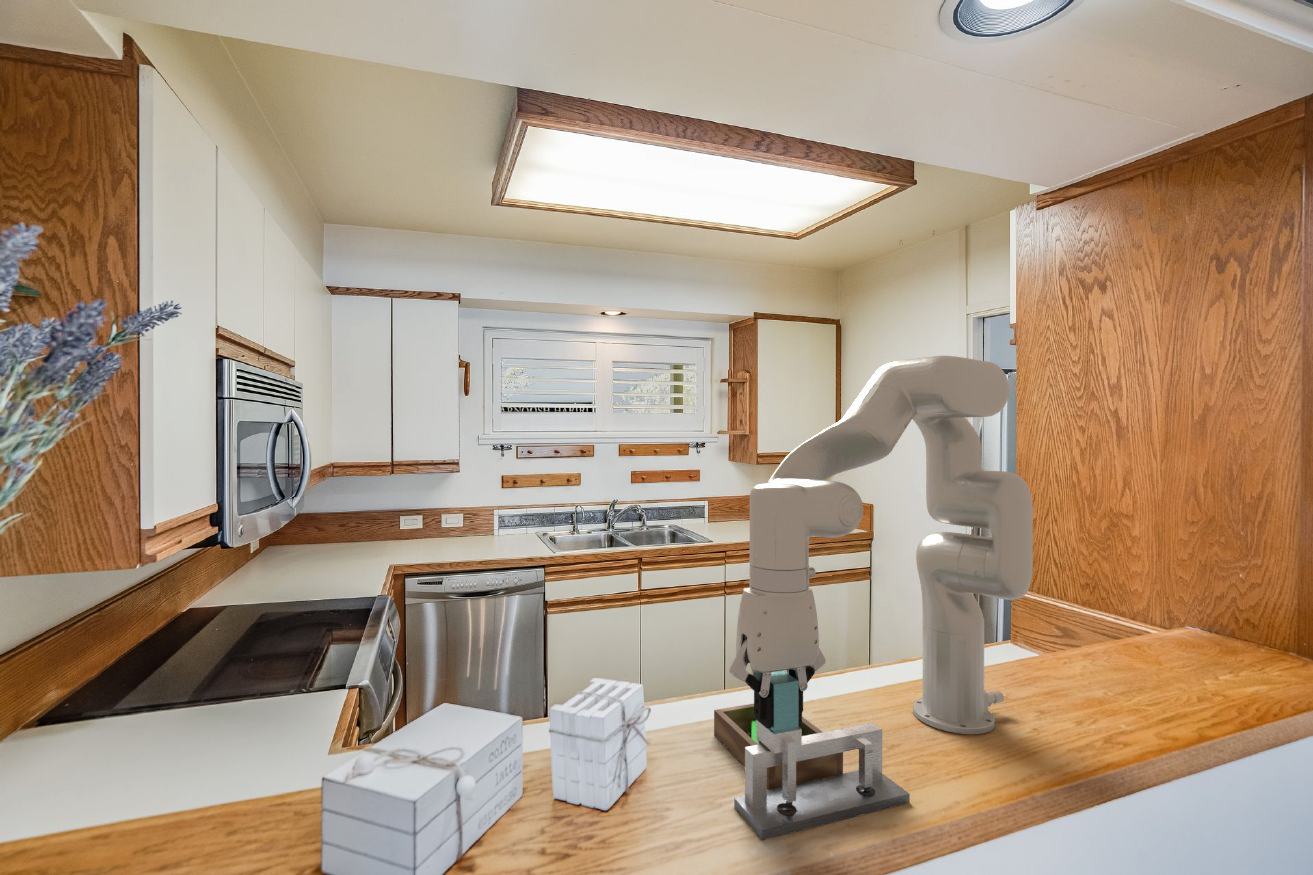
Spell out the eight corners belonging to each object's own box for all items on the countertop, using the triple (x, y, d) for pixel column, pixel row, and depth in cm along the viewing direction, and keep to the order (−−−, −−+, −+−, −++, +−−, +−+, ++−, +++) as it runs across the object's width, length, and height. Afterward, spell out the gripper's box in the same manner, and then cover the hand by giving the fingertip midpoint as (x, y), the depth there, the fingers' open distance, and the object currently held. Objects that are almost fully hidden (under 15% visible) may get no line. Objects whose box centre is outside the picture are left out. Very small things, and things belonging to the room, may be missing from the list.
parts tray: (778, 723, 103) (778, 699, 103) (843, 775, 87) (843, 746, 87) (714, 734, 98) (714, 709, 98) (768, 791, 82) (769, 761, 83)
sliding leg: (782, 780, 82) (782, 669, 82) (805, 802, 77) (805, 684, 77) (756, 786, 80) (756, 673, 80) (777, 809, 75) (778, 688, 75)
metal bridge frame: (872, 780, 85) (872, 722, 85) (893, 796, 81) (893, 735, 82) (744, 809, 78) (745, 747, 78) (761, 828, 75) (761, 762, 75)
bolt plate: (873, 775, 87) (873, 765, 87) (909, 802, 80) (909, 792, 80) (734, 806, 79) (734, 796, 79) (761, 840, 72) (761, 829, 72)
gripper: (816, 568, 86) (815, 700, 85) (708, 577, 80) (707, 718, 80) (850, 580, 79) (850, 723, 78) (735, 590, 73) (734, 745, 73)
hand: (778, 719), depth 79 cm, fingers closed on sliding leg, 3 cm apart
